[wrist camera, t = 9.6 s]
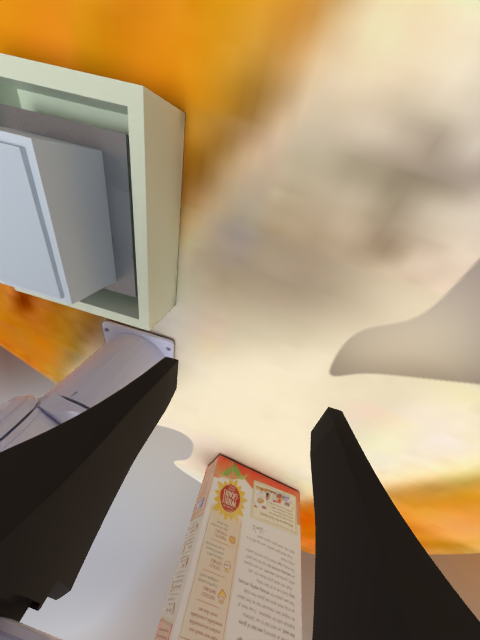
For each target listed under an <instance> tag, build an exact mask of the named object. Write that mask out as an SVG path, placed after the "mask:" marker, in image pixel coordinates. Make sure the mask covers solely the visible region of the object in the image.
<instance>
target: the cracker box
mask: <svg viewBox="0 0 480 640" xmlns="http://www.w3.org/2000/svg"><path fill="white" fill-rule="evenodd" d="M301 604H302V603H301V540H300V493H299V492H298V491H296V490H293V489H291V488H289V487H287V486H285V485H283V484H281V483H278V482H276V481H274V480H272V479H270V478H268V477H266V476H264V475H261V474H259V473H257V472H255V471H253V470H251V469H249V468H247V467H244V466H242V465H240V464H238V463H236V462H234V461H232V460H230V459H228V458H226V457H223V456H221V455H219V456H218V457H217V458H216V459H215V460H214V461H213V462H212V463H211V464H210V465H209V466H208V467H207V469H206V472H205V476H204V479H203V482H202V486H201V489H200V492H199V495H198V498H197V502H196V505H195V508H194V512H193V515H192V518H191V521H190V525H189V528H188V531H187V534H186V538H185V541H184V544H183V548H182V551H181V554H180V558H179V561H178V564H177V568H176V571H175V575H174V578H173V581H172V584H171V587H170V590H169V594H168V597H167V600H166V603H165V607H164V610H163V613H162V617H161V620H160V624H159V627H158V630H157V633H156V637H155V640H302V607H301V606H302V605H301Z"/></svg>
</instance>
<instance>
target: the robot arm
mask: <svg viewBox="0 0 480 640" xmlns="http://www.w3.org/2000/svg"><path fill="white" fill-rule="evenodd" d="M102 327H103V333H104V339H105V345H104V346H102V347H101V348H100V349H99V350H98V351H96V352H95V353H94V354H93V355H92V356H90V357H89V358H88V359H87V360H86V361H85V362H83V363H82V364H81V365H80V366H79V367H77V368H76V369H75V370H74V371H73V372H71V373H70V374H69V375H68V376H67V377H66V378H64V379H63V380H62V381H61V382H60V383H58V384H57V385H56V386H55V387H54V388H53V389H51V390H50V391H49V392H48V393H47V394H45V395H44V396H43V397H41V398H36V397H35V396H34V395H27V396H17V397H14V398H12V399H10V400H8V401H7V402H5V403H3V404H2V405H0V640H61V639H59V638H56V637H54V636H52V635H49V634H47V633H44V632H42V631H40V630H37V629H35V628H32V627H30V626H27V625H25V624H23V623H20V620H21V618H22V617H23V615H24V614H25V612H26V610H27V608H28V607H30V608H32V609H35V610H37V611H38V610H39V609H40V608H41V607H42V605H43V603H44V601H45V600H46V598H47V597H50V598H53V599H55V600H57V599H59V598H60V597H62V596H63V595H65V594H66V593H68V592H69V591H70V590H71V588H72V586H73V584H74V582H75V579H76V578H77V575H78V573H79V571H80V569H81V567H82V565H83V562H84V560H85V558H86V556H87V554H88V552H89V550H90V547H91V545H92V543H93V541H94V539H95V537H96V535H97V533H98V531H99V529H100V527H101V525H102V522H103V520H104V518H105V516H106V514H107V512H108V510H109V508H110V506H111V504H112V502H113V500H114V498H115V496H116V494H117V492H118V490H119V489H120V487H121V484H122V483H123V481H124V479H125V477H126V475H127V473H128V471H129V469H130V467H131V465H132V464H133V462H134V460H135V458H136V457H137V455H138V453H139V452H140V450H141V448H142V447H143V445H144V444H145V442H146V441H147V439H148V437H149V436H150V434H151V433H152V431H153V429H154V428H155V426H156V425H157V423H158V422H159V420H160V418H161V417H162V415H163V414H164V412H165V410H166V409H167V407H168V405H169V403H170V401H171V399H172V397H173V395H174V392H175V390H176V388H177V373H178V360H176V359H174V342H173V341H172V340H170V339H167V338H163V337H160V336H157V335H154V334H150V333H147V332H144V331H141V330H137V329H134V328H131V327H127V326H124V325H121V324H118V323H114V322H111V321H108V320H105V321H104V322H103V323H102ZM310 457H311V471H312V484H313V496H314V508H315V526H316V558H315V561H316V562H315V597H314V598H315V599H314V620H313V638H312V640H480V622H479V621H478V619H477V618H476V617H475V615H474V614H473V613H472V612H471V611H470V609H469V608H468V607H467V605H466V604H465V603H464V602H463V600H462V599H461V598H460V597H459V595H458V594H457V592H456V591H455V590H454V589H453V587H452V586H451V585H450V583H449V582H448V581H447V579H445V577H444V575H443V574H442V573H441V571H440V570H439V569H438V567H437V566H436V565H435V563H434V562H433V561H432V559H431V558H430V556H429V555H428V554H427V552H426V551H425V549H424V548H423V547H422V545H421V544H420V542H419V541H418V540H417V538H416V537H415V535H414V534H413V532H412V531H411V529H410V528H409V526H408V525H407V523H406V522H405V520H404V519H403V517H402V516H401V514H400V513H399V511H398V510H397V508H396V507H395V505H394V504H393V502H392V500H391V499H390V497H389V495H388V494H387V492H386V491H385V489H384V487H383V486H382V484H381V482H380V481H379V479H378V477H377V476H376V474H375V472H374V470H373V469H372V467H371V465H370V463H369V461H368V460H367V458H366V456H365V454H364V452H363V450H362V449H361V447H360V445H359V443H358V441H357V439H356V437H355V435H354V433H353V432H352V430H351V428H350V426H349V424H348V422H347V420H346V418H345V416H344V414H343V412H342V411H340V410H337V409H333V408H330V407H328V408H327V410H326V411H325V413H324V414H323V415H322V417H321V418H320V420H319V421H318V423H317V424H316V426H315V427H314V428H313V430H312V431H311V450H310Z"/></svg>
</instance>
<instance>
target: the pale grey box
mask: <svg viewBox="0 0 480 640" xmlns="http://www.w3.org/2000/svg"><path fill="white" fill-rule="evenodd" d="M115 281H116V272H115V264H114V255H113V246H112V237H111V228H110V219H109V210H108V201H107V192H106V183H105V174H104V165H103V156H102V151H101V150H97V149H93V148H89V147H85V146H81V145H77V144H73V143H69V142H65V141H61V140H57V139H54V138H50V137H46V136H42V135H38V134H34V133H30V132H26V131H22V130H17V129H12V128H7V127H1V126H0V283H2V284H6V285H9V286H12V287H16V288H19V289H22V290H25V291H29V292H32V293H35V294H39V295H42V296H45V297H48V298H52V299H55V300H58V301H62V302H65V303H68V304H71V305H73V304H74V303H76V302H78V301H80V300H82V299H84V298H85V297H87V296H89V295H91V294H93V293H95V292H97V291H98V290H100V289H102V288H104V287H106V286H108V285H110V284H111V283H113V282H115Z"/></svg>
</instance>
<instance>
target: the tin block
mask: <svg viewBox="0 0 480 640" xmlns="http://www.w3.org/2000/svg"><path fill="white" fill-rule="evenodd" d="M0 126H1V127H7V128H12V129H17V130H22V131H26V132H30V133H34V134H38V135H42V136H46V137H50V138H54V139H57V140H61V141H65V142H69V143H73V144H77V145H81V146H85V147H89V148H93V149H97V150H101V151H102V156H103V165H104V174H105V183H106V192H107V201H108V210H109V219H110V228H111V237H112V246H113V255H114V264H115V272H116V281H115V282H113V283H111V284H110V285H108V286H106V287H104V288H105V289H108V290H111V291H115V292H118V293H122V294H125V295H128V296H132V297H135V298H136V297H138V287H137V270H136V252H135V234H134V216H133V198H132V180H131V162H130V144H129V135H127V134H123V133H119V132H115V131H111V130H107V129H103V128H99V127H95V126H91V125H87V124H83V123H79V122H74V121H70V120H66V119H62V118H58V117H54V116H50V115H46V114H42V113H38V112H34V111H30V110H26V109H21V108H17V107H13V106H9V105H5V104H1V103H0Z"/></svg>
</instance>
